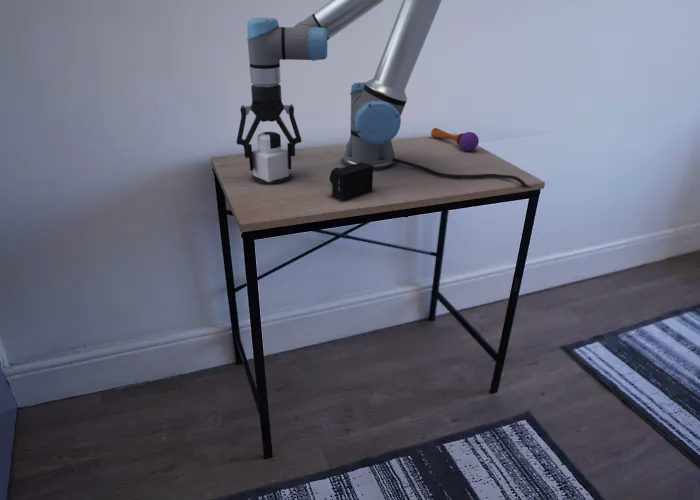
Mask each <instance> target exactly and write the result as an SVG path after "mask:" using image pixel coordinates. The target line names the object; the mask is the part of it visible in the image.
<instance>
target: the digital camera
mask: <svg viewBox="0 0 700 500" xmlns="http://www.w3.org/2000/svg"><path fill="white" fill-rule="evenodd" d="M373 181H374V169H373V166H371V165H369V164H366V163H363V162H360V163H357V164H354V165H350V166H349V165H347V166H343V167H335V168H333V169H332V170H331V172H330V174H329V182H330V183H331V196H332V197H333V198H335V199H337V200H339V201H342V202H345V201H348V200H351V199H354V198H356V197H360V196H362V195H365V194H369V193H370V192H373V185H374V184H373Z"/></svg>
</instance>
